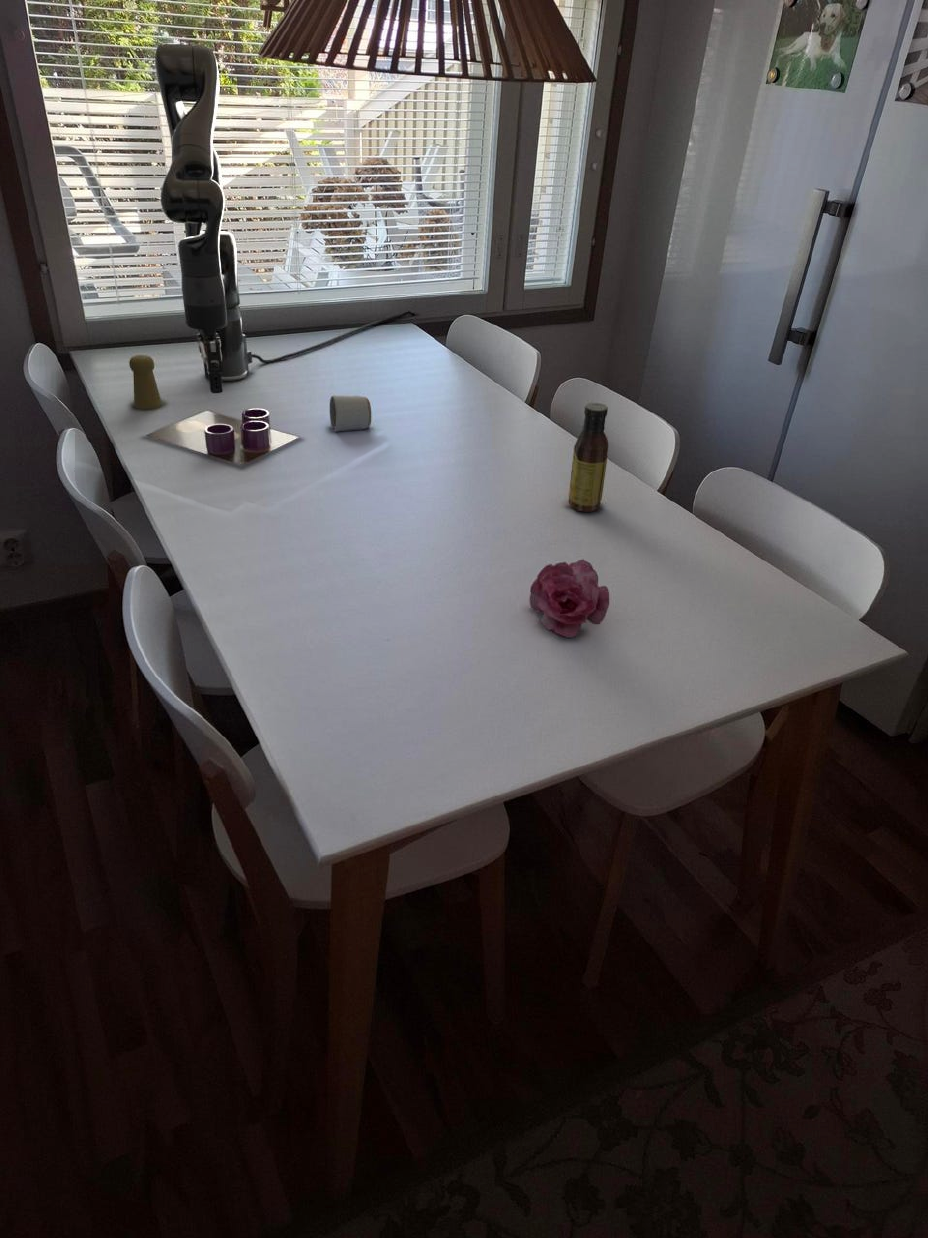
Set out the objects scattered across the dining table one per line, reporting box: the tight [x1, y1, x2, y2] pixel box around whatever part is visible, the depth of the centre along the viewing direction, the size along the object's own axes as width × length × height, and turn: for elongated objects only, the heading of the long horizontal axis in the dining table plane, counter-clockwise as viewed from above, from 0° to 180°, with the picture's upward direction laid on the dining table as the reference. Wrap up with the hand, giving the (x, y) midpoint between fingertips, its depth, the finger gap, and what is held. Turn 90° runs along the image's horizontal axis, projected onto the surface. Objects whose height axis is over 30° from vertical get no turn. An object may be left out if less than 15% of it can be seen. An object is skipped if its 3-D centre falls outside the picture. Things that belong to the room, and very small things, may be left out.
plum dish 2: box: [241, 408, 272, 433], centre depth 181 cm, size 6×6×4 cm
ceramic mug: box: [329, 394, 372, 432], centre depth 187 cm, size 11×8×8 cm
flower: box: [529, 559, 610, 639], centre depth 127 cm, size 11×10×10 cm
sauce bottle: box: [568, 402, 609, 513], centre depth 157 cm, size 6×6×20 cm
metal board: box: [145, 410, 300, 466], centre depth 180 cm, size 18×26×1 cm
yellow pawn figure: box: [128, 354, 163, 410], centre depth 191 cm, size 6×6×11 cm
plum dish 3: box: [240, 421, 270, 451], centre depth 175 cm, size 6×6×4 cm
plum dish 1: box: [204, 424, 235, 455], centre depth 173 cm, size 6×6×4 cm
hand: (214, 385), depth 167 cm, fingers open, 8 cm apart
